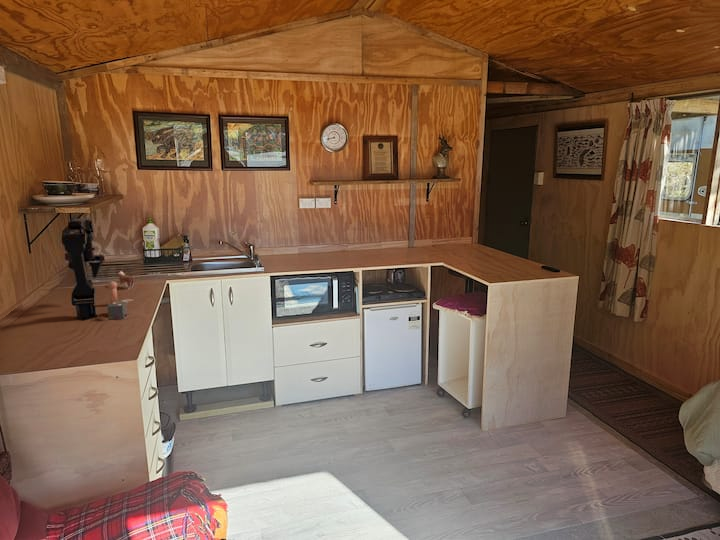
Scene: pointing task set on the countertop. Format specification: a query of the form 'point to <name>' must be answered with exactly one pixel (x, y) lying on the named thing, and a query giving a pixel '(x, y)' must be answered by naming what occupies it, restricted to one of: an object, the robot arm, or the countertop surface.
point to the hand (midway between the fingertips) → (88, 279)
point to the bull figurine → (125, 279)
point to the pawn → (113, 291)
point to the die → (117, 310)
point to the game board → (126, 300)
